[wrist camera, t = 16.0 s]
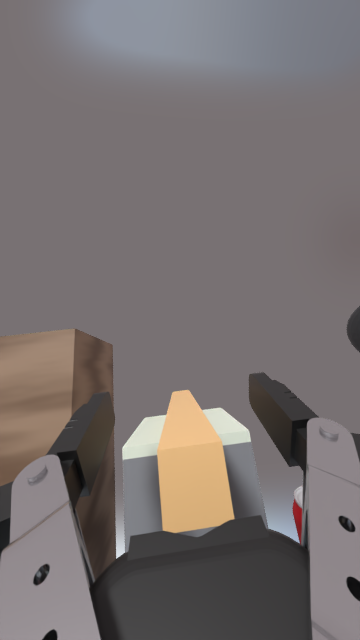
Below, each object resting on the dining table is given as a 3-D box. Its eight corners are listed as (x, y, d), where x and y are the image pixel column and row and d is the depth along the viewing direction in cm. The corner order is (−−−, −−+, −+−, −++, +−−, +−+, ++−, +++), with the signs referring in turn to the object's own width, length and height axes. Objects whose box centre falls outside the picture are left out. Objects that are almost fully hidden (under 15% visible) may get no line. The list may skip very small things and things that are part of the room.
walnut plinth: (45, 1042, 8) (75, 328, 17) (-205, 1109, 8) (-40, 341, 16) (117, 676, 18) (112, 344, 26) (9, 697, 17) (41, 353, 26)
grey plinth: (353, 959, 9) (248, 430, 15) (137, 1017, 8) (122, 447, 14) (260, 649, 18) (220, 407, 24) (159, 668, 18) (144, 417, 24)
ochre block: (235, 523, 6) (222, 441, 7) (163, 534, 6) (157, 450, 7) (190, 407, 27) (188, 389, 28) (174, 409, 27) (172, 391, 28)
